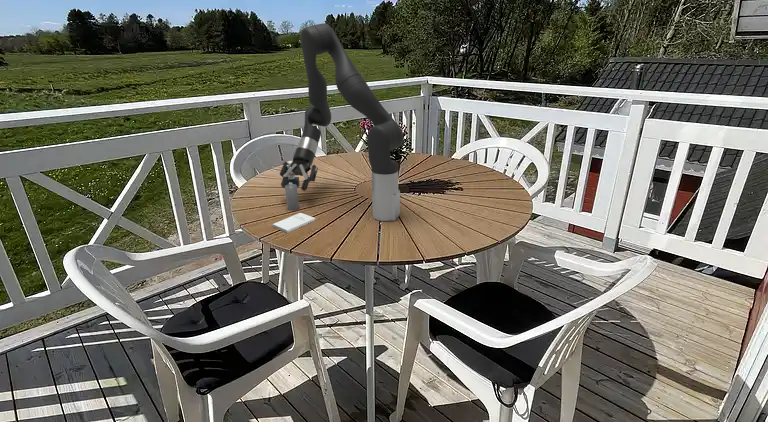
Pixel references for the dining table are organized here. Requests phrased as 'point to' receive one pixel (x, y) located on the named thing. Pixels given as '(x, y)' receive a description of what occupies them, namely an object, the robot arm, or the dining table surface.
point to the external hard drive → (293, 222)
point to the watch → (293, 178)
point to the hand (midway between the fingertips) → (293, 188)
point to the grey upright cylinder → (292, 196)
